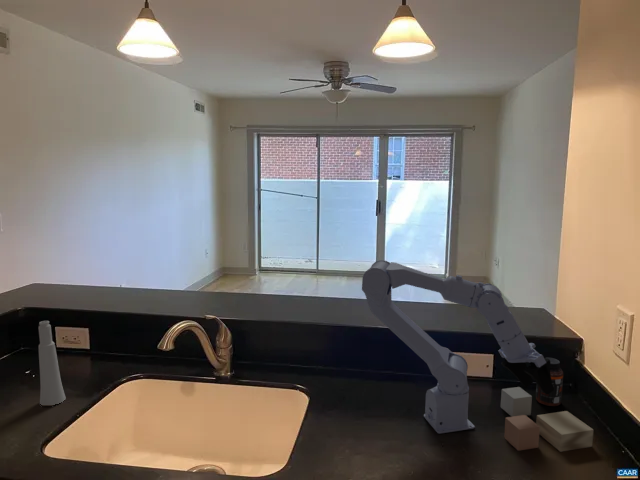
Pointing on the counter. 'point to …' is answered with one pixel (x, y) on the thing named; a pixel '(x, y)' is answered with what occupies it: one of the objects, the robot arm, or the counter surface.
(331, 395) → the counter surface
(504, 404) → the grey cube
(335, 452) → the counter surface
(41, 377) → the cosmetic bottle
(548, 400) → the supplement bottle
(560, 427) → the birch base block
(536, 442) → the terracotta cube
